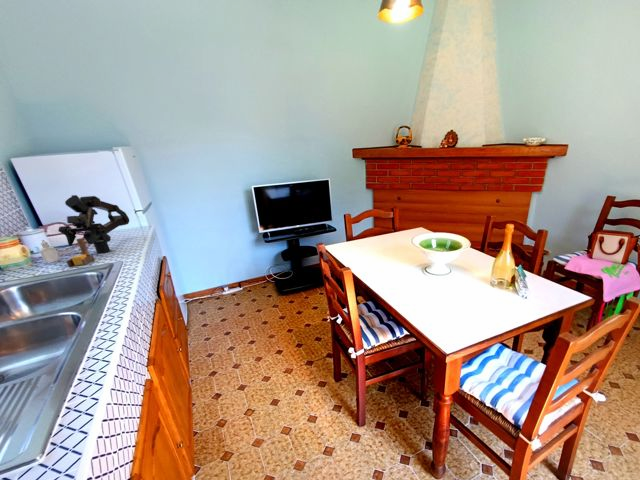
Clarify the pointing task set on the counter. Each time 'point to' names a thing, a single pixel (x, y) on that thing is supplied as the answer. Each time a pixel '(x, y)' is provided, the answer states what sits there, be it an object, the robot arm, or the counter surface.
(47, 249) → the eye dropper bottle
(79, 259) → the block
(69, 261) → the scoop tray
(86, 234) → the robot arm
